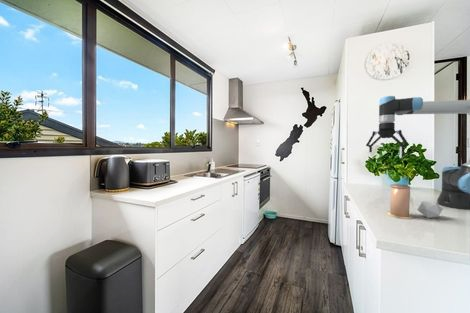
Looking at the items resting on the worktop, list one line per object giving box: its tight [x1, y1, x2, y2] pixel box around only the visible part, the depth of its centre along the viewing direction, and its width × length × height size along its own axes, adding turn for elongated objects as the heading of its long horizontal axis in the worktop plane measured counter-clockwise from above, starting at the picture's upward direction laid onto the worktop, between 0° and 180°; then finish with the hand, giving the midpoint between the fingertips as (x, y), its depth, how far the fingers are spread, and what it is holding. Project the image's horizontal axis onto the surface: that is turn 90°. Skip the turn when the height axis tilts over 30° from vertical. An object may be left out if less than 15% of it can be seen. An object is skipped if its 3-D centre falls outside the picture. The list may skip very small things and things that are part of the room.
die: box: [417, 200, 443, 219], centre depth 97 cm, size 8×9×10 cm
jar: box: [389, 183, 411, 217], centre depth 100 cm, size 8×8×15 cm
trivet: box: [385, 210, 415, 220], centre depth 100 cm, size 11×11×1 cm
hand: (385, 157), depth 118 cm, fingers open, 13 cm apart
